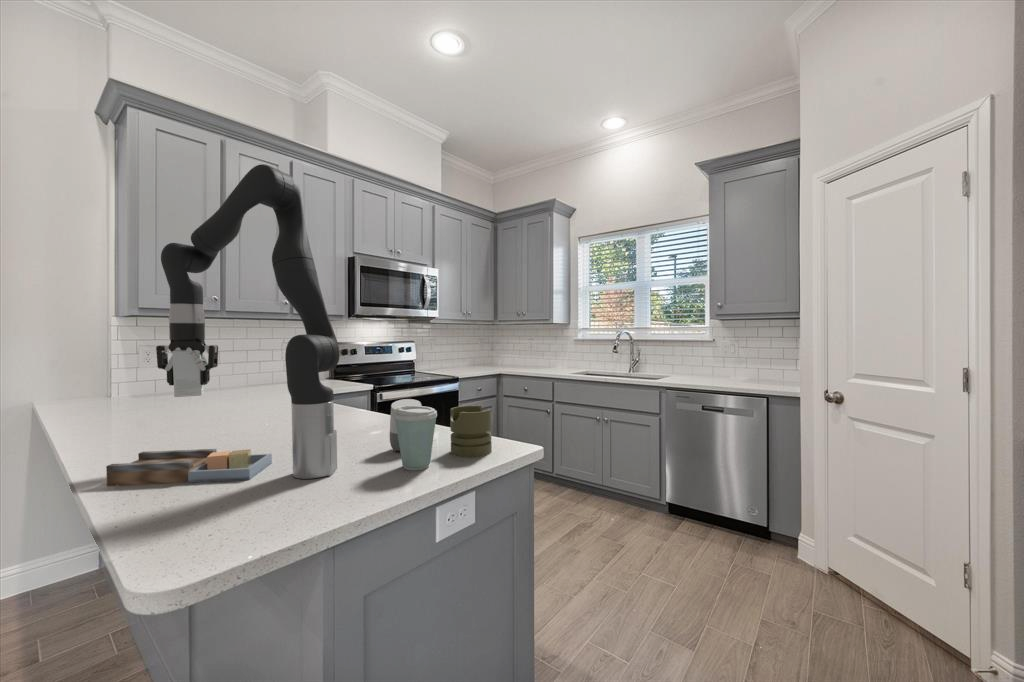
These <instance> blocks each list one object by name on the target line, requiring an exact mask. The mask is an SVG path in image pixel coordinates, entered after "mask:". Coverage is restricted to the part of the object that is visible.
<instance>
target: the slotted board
mask: <svg viewBox="0 0 1024 682" xmlns="http://www.w3.org/2000/svg"><path fill="white" fill-rule="evenodd" d="M213 452H217V448H205V449H204V448H203V449H182V450H181V449H180V450H177V449H176V450H158V451H157V450H155V451H141V452H139V453H138V455H137V456H138V459H137V460H134V461H132V462H128V463H127V462H126V463H125V462H124V463H123V462H122V463H111V464H108V465H106V466H105V467H106V468H105V469H106V487H114V486H115V487H117V486H116V485H121V486H134V485H135V486H136V485H137V486H138V485H156V484H157V485H159V484H160V485H161V484H177V483H178V484H179V483H181V484H182V483H188V472H189V471H191V470H192V469H194V468H196V467H198V466H200V465H202V464H204V463H206V462H207V457H208V456H209V455H210V454H211V453H213Z"/></svg>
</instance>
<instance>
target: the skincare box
mask: <svg viewBox="0 0 1024 682" xmlns="http://www.w3.org/2000/svg"><path fill="white" fill-rule="evenodd" d="M194 352H195V353H196V354H197V356H198V357H199V358H200V359H201V355H200V351H198V350H194ZM171 353H172V354H171V356H173V377H174V385H173V393H174V397H175V398H183V397H198V396H203V395H204V393H205V391H204V385H201V384H200V371H202V370H201V369H200V367H199V366H198V364H196V363H195V362H194V360H193V359H192V357H191V354H188V351H187V350H181V351H172V352H171ZM193 356H194V355H193Z"/></svg>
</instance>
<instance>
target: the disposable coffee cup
mask: <svg viewBox="0 0 1024 682" xmlns="http://www.w3.org/2000/svg"><path fill="white" fill-rule="evenodd" d="M437 417H438V411H437V410H436V409H435V408H433V407H430V406H423V405H422V406H399V407H397V408H396V412H395V414H394V418H395V422H396V428H397V434H398V441H399V447H400V452H399V453H400V457H401V458H400V459H401V463H402V466H403V468H404V470H406V471H421V470H426V469H427V468H429V467H430V464H431V461H432V459H431V457H432V452H433V444H434V436H435V429H436V423H437V422H436V421H437Z"/></svg>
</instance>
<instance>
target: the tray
mask: <svg viewBox="0 0 1024 682" xmlns="http://www.w3.org/2000/svg"><path fill="white" fill-rule="evenodd" d="M272 464H273V455H272V453H260V454H258V453H256V454H255V453H254V454H253V453H252V454H251V466H250V467H248V468H238V469H217V470H207V462H206V463H204V464H202V465H200V466H198V467H196V468H194V469H192V470H191V471H189V472H188V482H187V483H189V484H190V483H191V484H193V483H209V482H211V483H212V482H231V481H233V482H234V481H248V480H249V481H251V480H252V478H254V477H256V476H257V475H258V474H259V473H261V472H262V471H263V470H265V469H267V467H269V466H270V465H272Z"/></svg>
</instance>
